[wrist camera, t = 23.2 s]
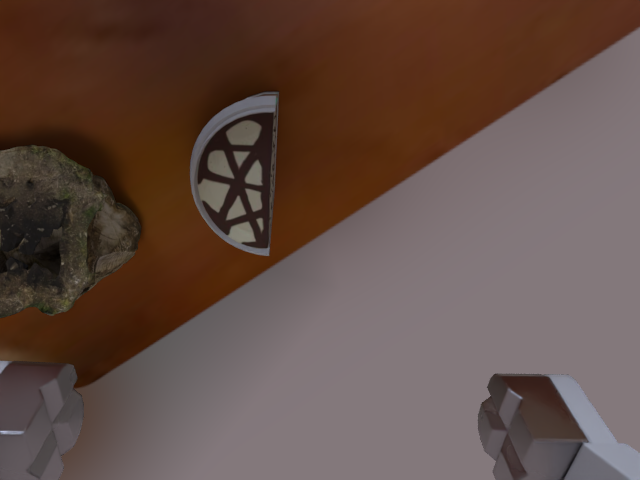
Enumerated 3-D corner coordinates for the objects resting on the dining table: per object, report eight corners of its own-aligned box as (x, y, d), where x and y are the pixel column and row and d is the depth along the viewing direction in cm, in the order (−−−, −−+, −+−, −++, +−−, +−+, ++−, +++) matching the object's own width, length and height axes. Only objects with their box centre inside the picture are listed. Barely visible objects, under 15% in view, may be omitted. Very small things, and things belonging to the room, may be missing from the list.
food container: (205, 66, 40) (179, 95, 31) (279, 72, 40) (275, 102, 32) (208, 202, 46) (188, 257, 37) (273, 206, 46) (268, 261, 38)
